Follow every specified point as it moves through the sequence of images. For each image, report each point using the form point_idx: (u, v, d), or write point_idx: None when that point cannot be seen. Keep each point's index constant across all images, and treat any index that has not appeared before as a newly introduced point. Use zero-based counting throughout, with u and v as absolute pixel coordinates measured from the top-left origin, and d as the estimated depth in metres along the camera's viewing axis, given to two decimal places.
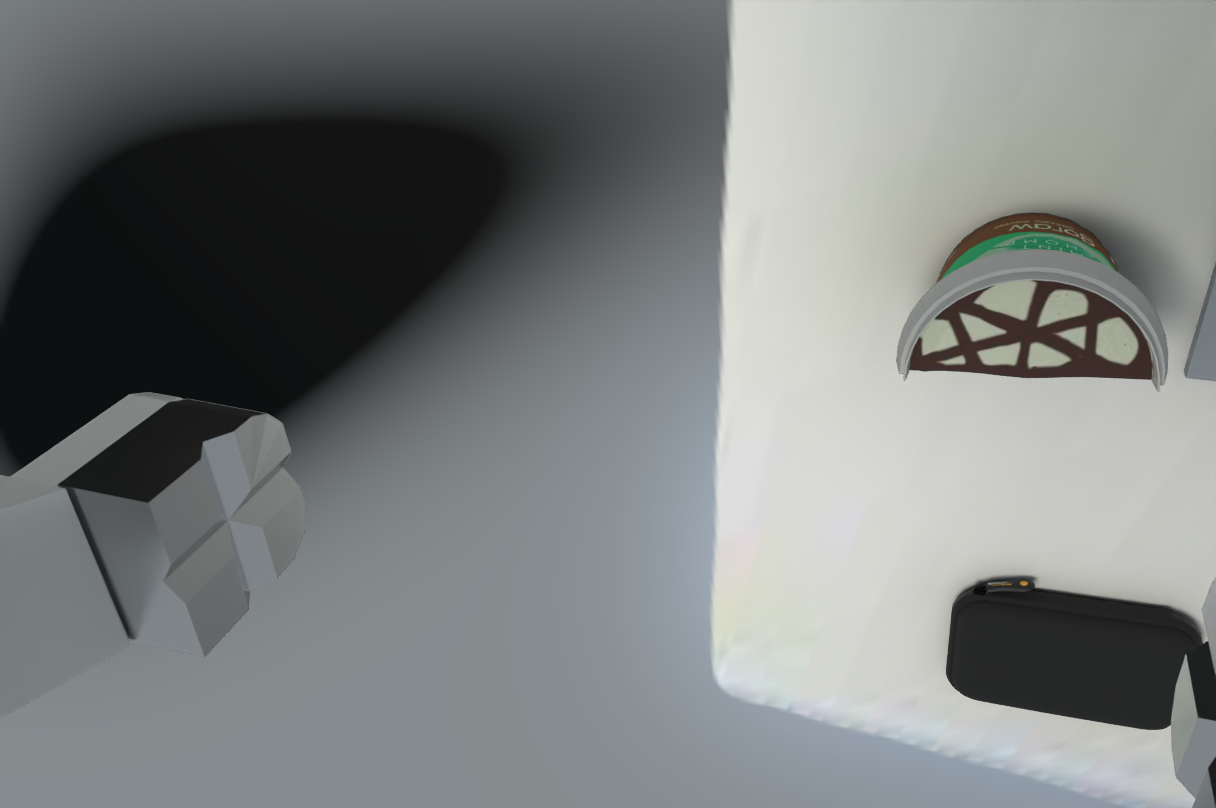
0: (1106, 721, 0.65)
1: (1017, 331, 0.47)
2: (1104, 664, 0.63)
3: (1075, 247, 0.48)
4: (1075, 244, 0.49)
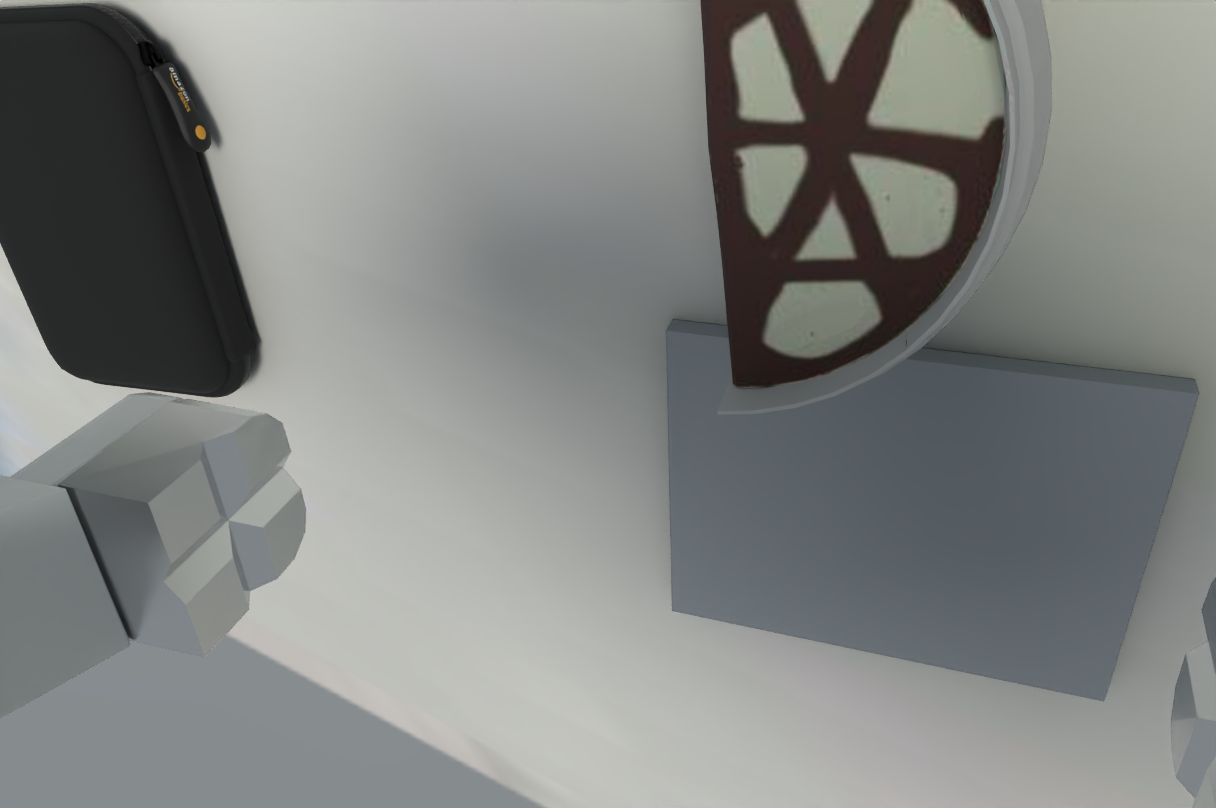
0: (25, 295, 0.38)
1: (833, 108, 0.18)
2: (117, 285, 0.36)
3: None
4: None
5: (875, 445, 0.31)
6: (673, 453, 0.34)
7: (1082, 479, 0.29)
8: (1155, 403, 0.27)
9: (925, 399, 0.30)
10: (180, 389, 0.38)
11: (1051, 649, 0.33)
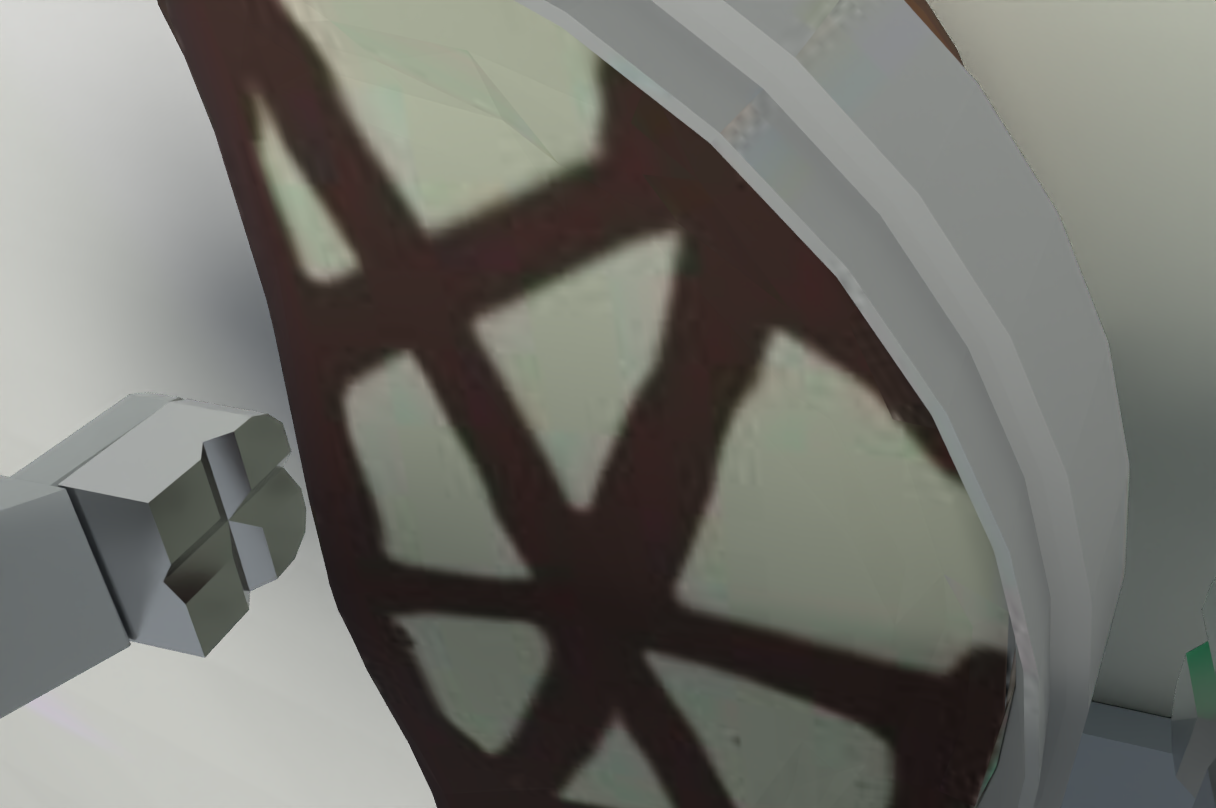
0: None
1: (595, 564, 0.07)
2: None
3: None
4: None
5: None
6: None
7: None
8: None
9: None
10: None
11: None
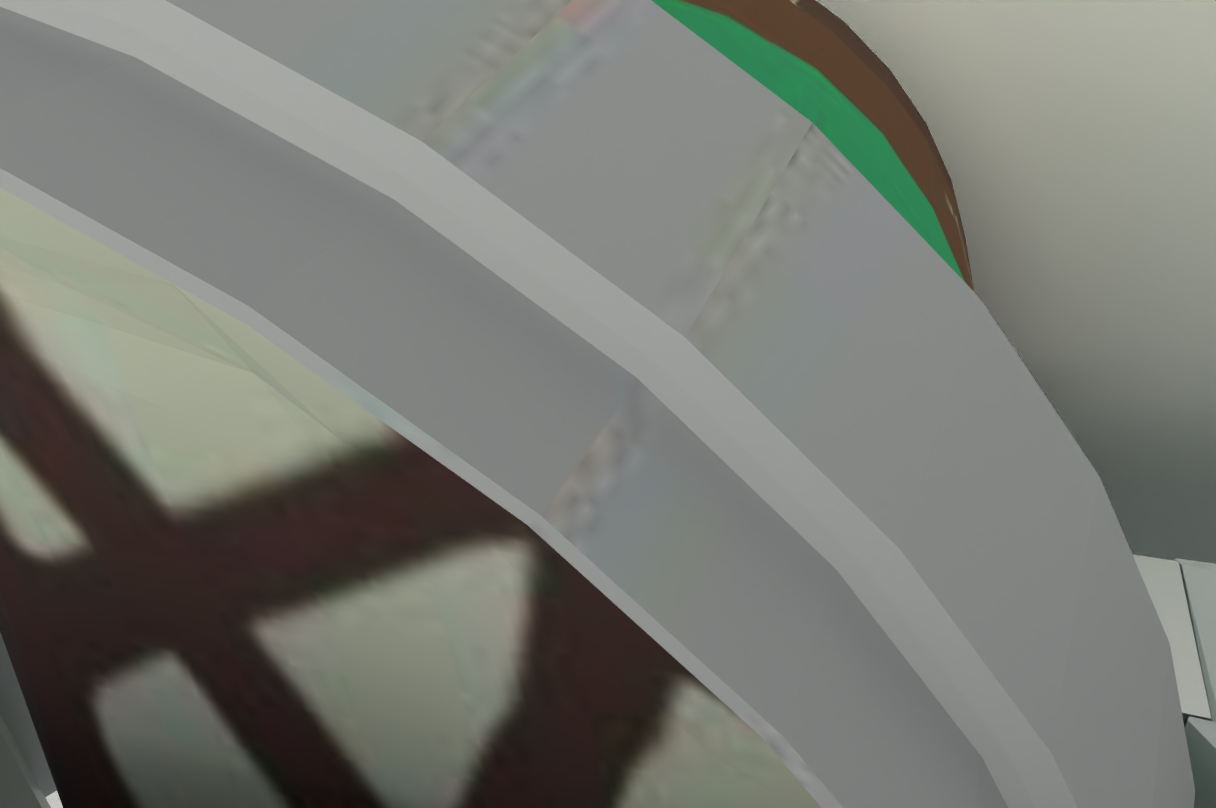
0: None
1: None
2: None
3: None
4: None
5: None
6: None
7: None
8: None
9: None
10: None
11: None
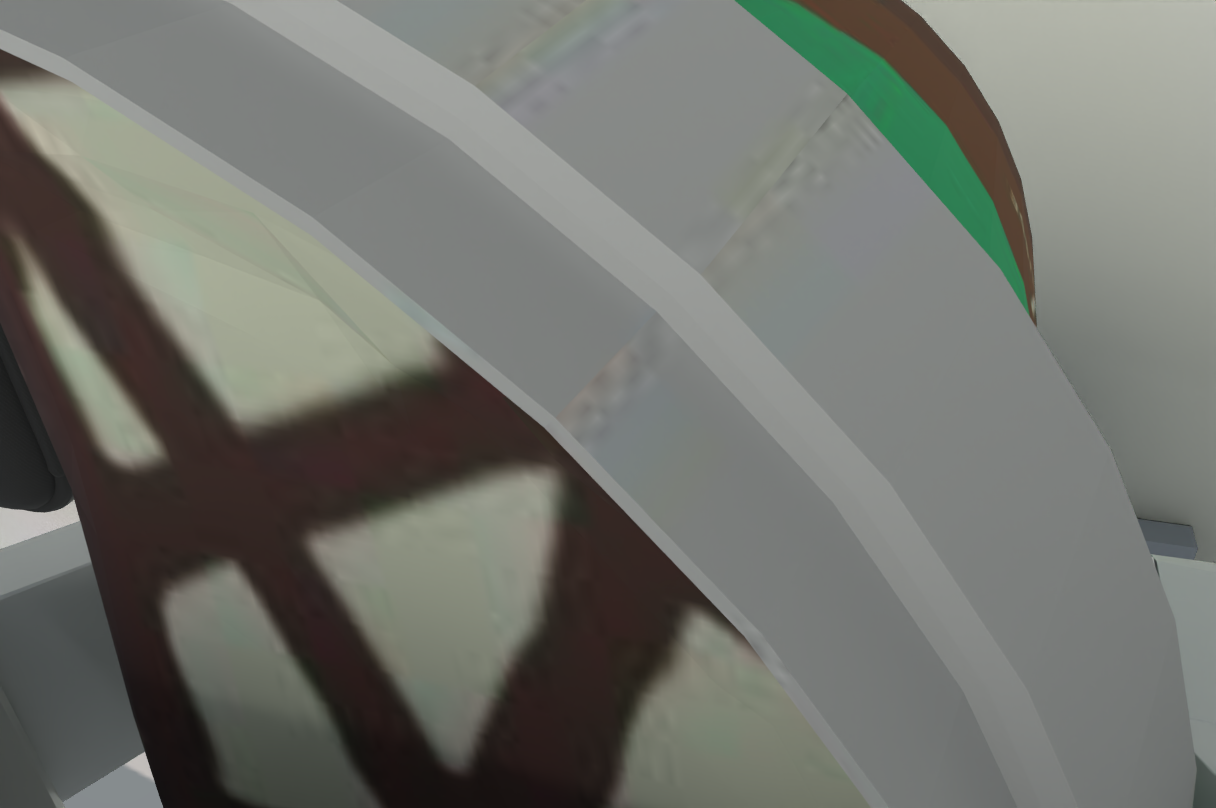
0: None
1: None
2: None
3: None
4: None
5: None
6: None
7: None
8: None
9: None
10: None
11: None
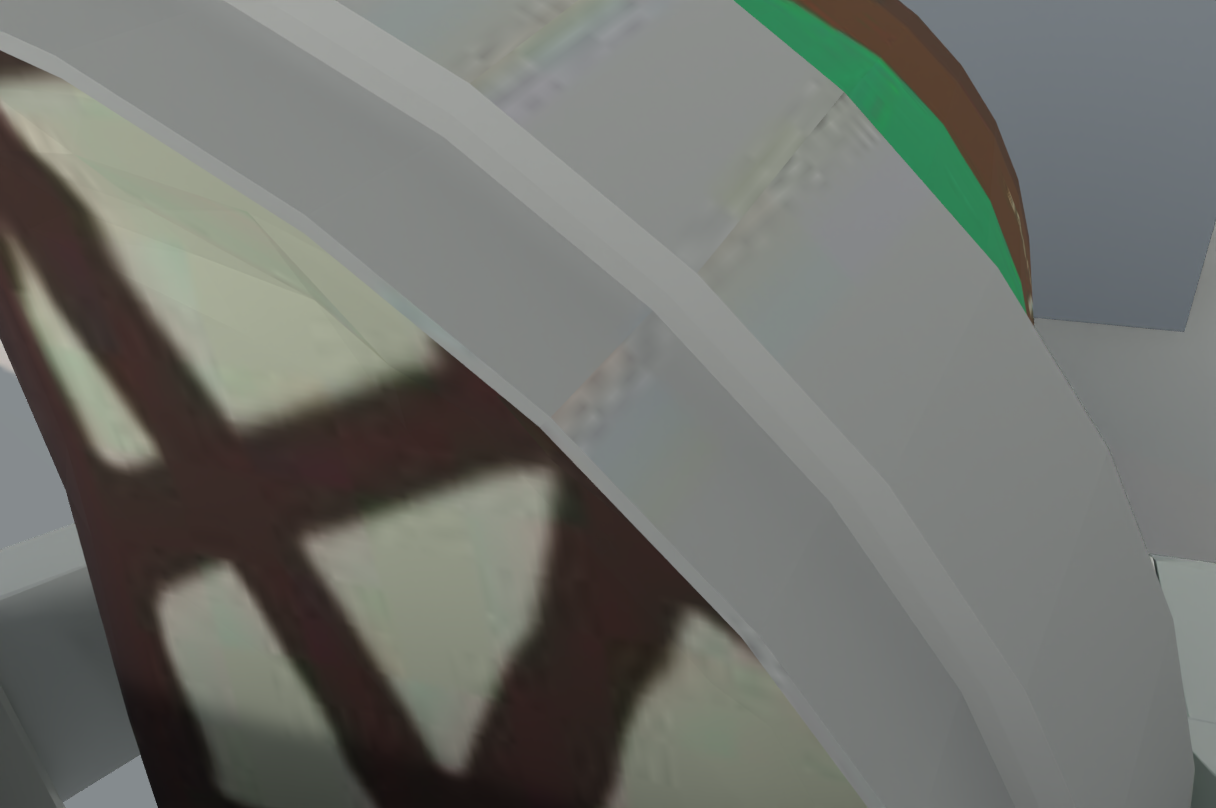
0: None
1: None
2: None
3: None
4: None
5: None
6: None
7: None
8: None
9: None
10: None
11: (1113, 255, 0.24)
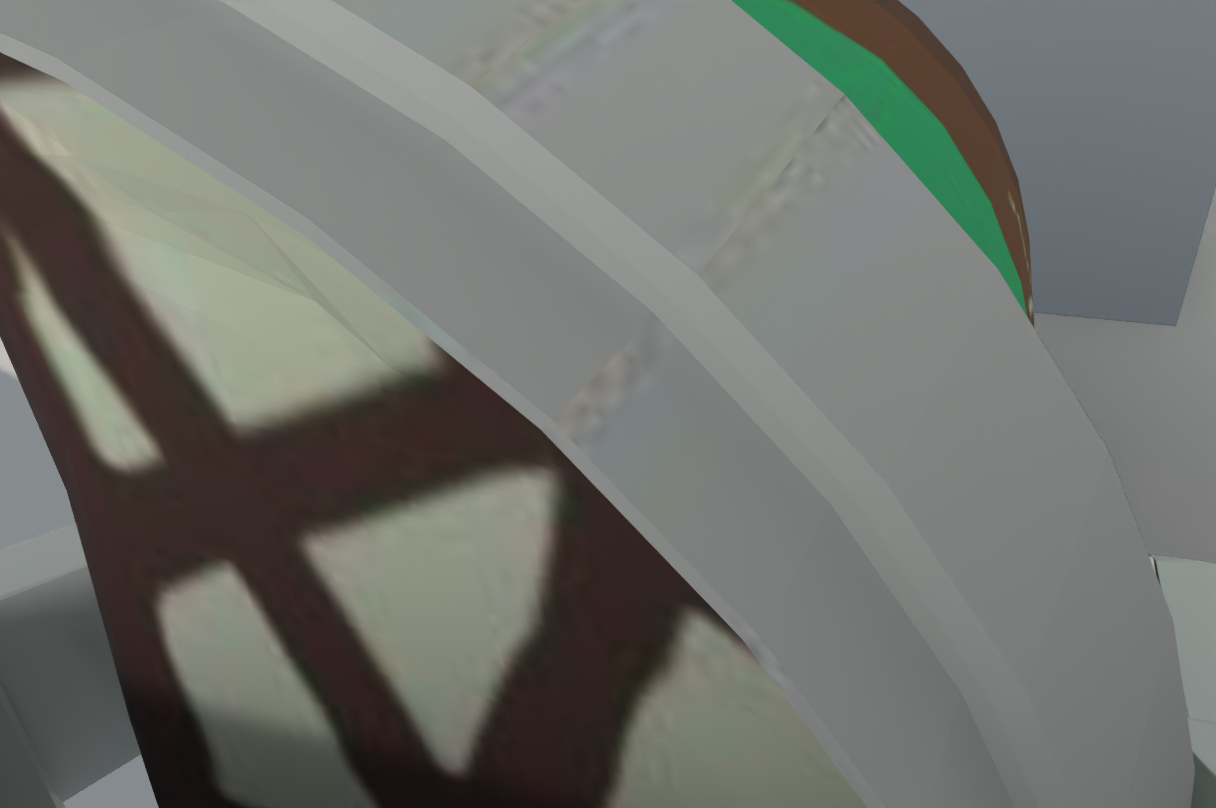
0: None
1: None
2: None
3: None
4: None
5: None
6: None
7: None
8: None
9: None
10: None
11: (1104, 249, 0.24)
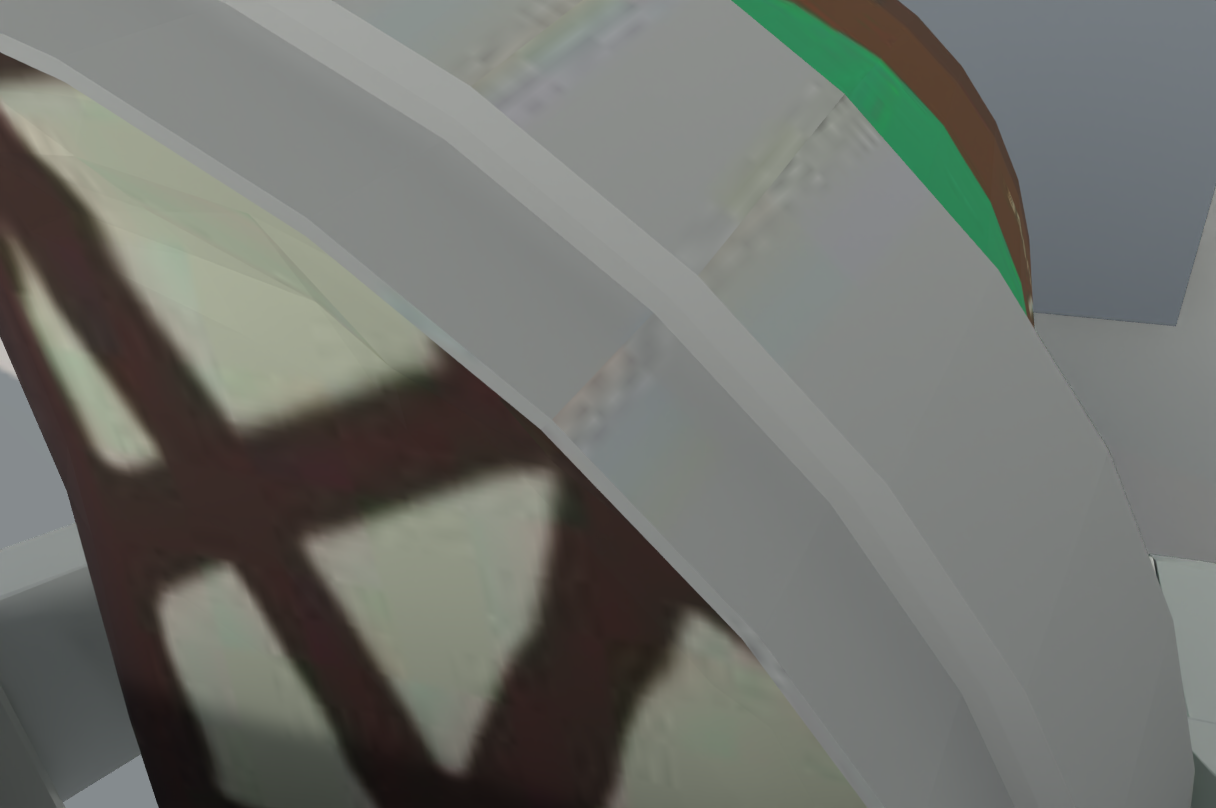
0: None
1: None
2: None
3: None
4: None
5: None
6: None
7: None
8: None
9: None
10: None
11: (1104, 249, 0.24)
